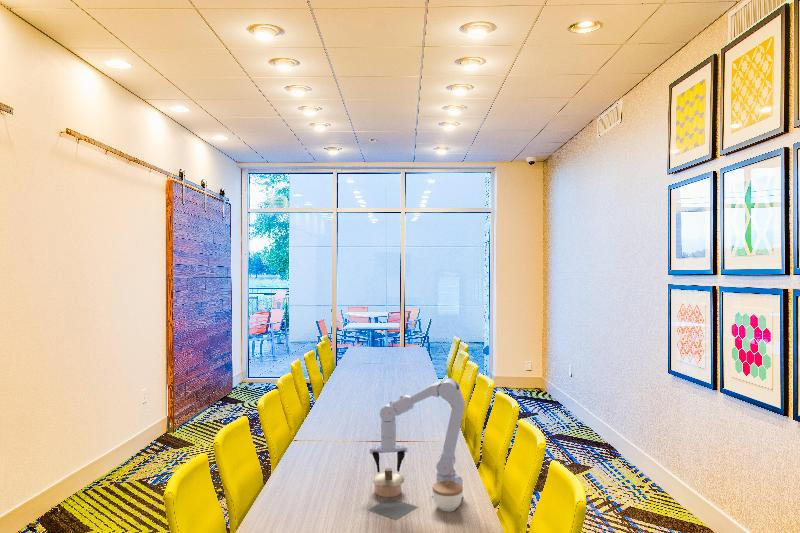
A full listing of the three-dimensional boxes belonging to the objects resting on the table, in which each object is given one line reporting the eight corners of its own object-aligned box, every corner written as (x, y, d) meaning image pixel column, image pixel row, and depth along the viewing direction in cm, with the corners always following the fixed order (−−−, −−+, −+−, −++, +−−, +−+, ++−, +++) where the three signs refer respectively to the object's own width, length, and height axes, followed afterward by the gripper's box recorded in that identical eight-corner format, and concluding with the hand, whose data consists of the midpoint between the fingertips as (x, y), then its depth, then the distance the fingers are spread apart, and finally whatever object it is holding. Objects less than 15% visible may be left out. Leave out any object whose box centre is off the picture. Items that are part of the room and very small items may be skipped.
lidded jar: (460, 501, 206) (460, 476, 205) (464, 514, 195) (464, 488, 195) (431, 501, 205) (431, 476, 205) (434, 515, 195) (434, 488, 194)
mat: (418, 507, 200) (418, 507, 200) (395, 520, 190) (395, 519, 190) (390, 498, 208) (390, 497, 208) (367, 510, 198) (367, 509, 198)
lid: (401, 474, 221) (401, 463, 221) (406, 486, 209) (406, 474, 209) (371, 475, 219) (371, 464, 219) (374, 487, 207) (374, 476, 208)
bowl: (406, 491, 216) (406, 479, 216) (390, 499, 208) (390, 487, 208) (386, 484, 222) (386, 473, 222) (369, 492, 214) (370, 481, 214)
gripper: (405, 432, 220) (405, 466, 220) (368, 433, 218) (368, 468, 218) (408, 437, 213) (408, 473, 213) (370, 438, 211) (370, 474, 211)
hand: (388, 471), depth 215 cm, fingers open, 7 cm apart
